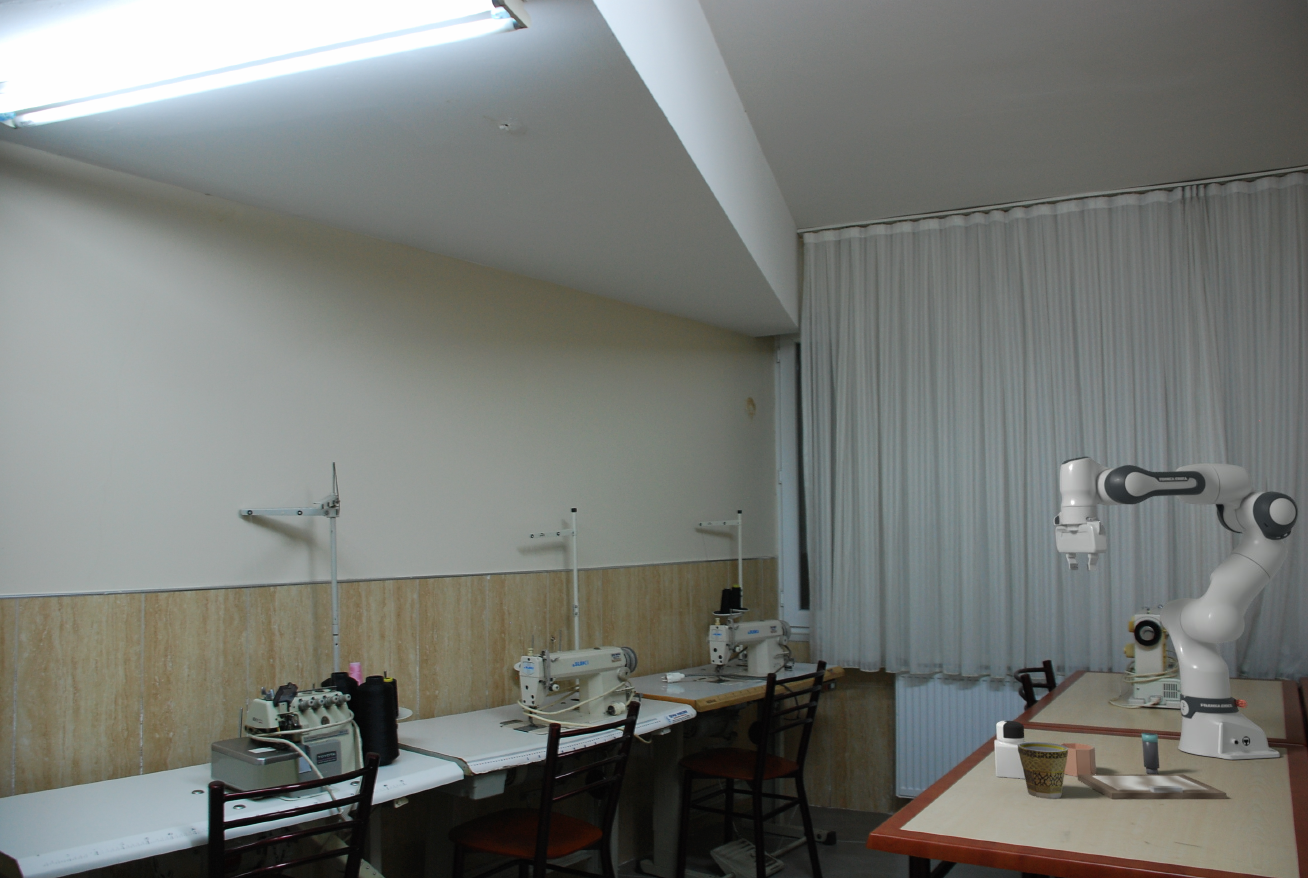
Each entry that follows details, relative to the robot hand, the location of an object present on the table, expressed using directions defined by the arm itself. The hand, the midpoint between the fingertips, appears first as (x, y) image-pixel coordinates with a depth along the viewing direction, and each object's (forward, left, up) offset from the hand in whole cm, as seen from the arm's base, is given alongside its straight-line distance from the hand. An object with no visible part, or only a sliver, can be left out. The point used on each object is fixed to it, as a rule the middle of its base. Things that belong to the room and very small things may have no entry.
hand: (1082, 570), depth 244 cm
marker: (-4, +22, -46) cm, 52 cm away
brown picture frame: (+5, +36, -46) cm, 59 cm away
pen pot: (+13, +21, -46) cm, 53 cm away
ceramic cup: (+29, +39, -47) cm, 68 cm away
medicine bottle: (+29, +23, -47) cm, 60 cm away
